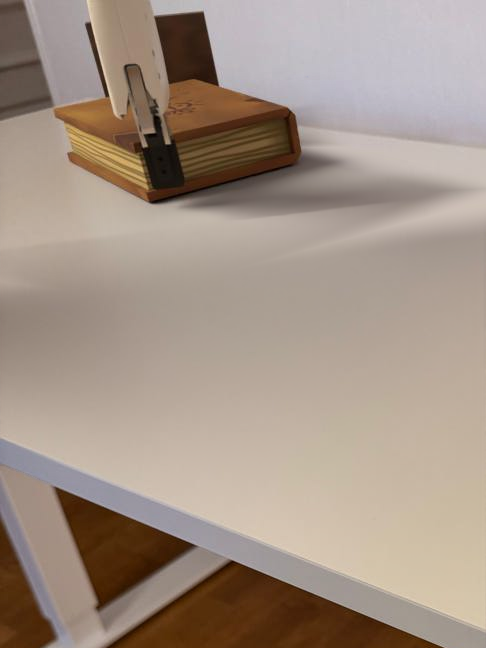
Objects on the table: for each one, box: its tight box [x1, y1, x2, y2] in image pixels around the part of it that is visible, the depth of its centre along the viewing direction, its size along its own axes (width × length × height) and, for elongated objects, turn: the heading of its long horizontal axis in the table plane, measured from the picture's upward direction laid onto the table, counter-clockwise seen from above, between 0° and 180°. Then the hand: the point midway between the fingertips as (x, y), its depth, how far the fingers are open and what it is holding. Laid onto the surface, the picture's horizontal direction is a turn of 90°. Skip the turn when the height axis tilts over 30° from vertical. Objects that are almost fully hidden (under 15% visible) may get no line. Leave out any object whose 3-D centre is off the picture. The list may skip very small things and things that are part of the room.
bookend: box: [84, 10, 221, 98], centre depth 118 cm, size 14×4×12 cm, turn 102°
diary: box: [52, 79, 302, 203], centre depth 107 cm, size 23×19×6 cm
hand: (169, 185), depth 96 cm, fingers closed
